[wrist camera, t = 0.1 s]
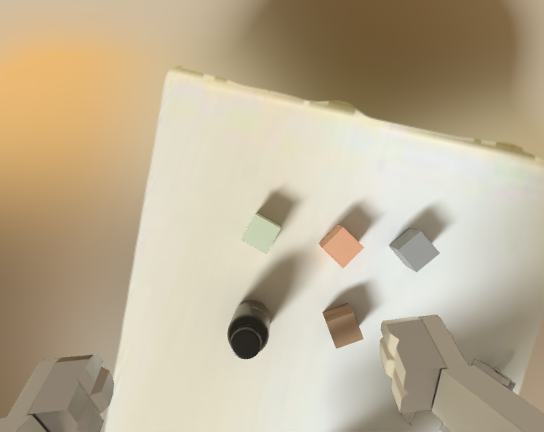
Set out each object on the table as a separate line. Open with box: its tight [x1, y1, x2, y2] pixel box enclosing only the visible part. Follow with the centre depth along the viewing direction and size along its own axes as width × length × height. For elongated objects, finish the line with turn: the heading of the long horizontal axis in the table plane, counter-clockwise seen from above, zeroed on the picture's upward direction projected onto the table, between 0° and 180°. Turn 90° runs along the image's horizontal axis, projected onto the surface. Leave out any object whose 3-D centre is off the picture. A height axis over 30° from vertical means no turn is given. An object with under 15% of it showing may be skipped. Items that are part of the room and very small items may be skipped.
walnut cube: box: [323, 303, 363, 349], centre depth 63 cm, size 5×5×5 cm
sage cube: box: [241, 213, 281, 254], centre depth 62 cm, size 5×5×5 cm
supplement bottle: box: [227, 300, 270, 359], centre depth 60 cm, size 7×7×12 cm
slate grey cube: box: [389, 228, 439, 272], centre depth 62 cm, size 5×5×5 cm
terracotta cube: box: [319, 224, 364, 268], centre depth 62 cm, size 5×5×5 cm
